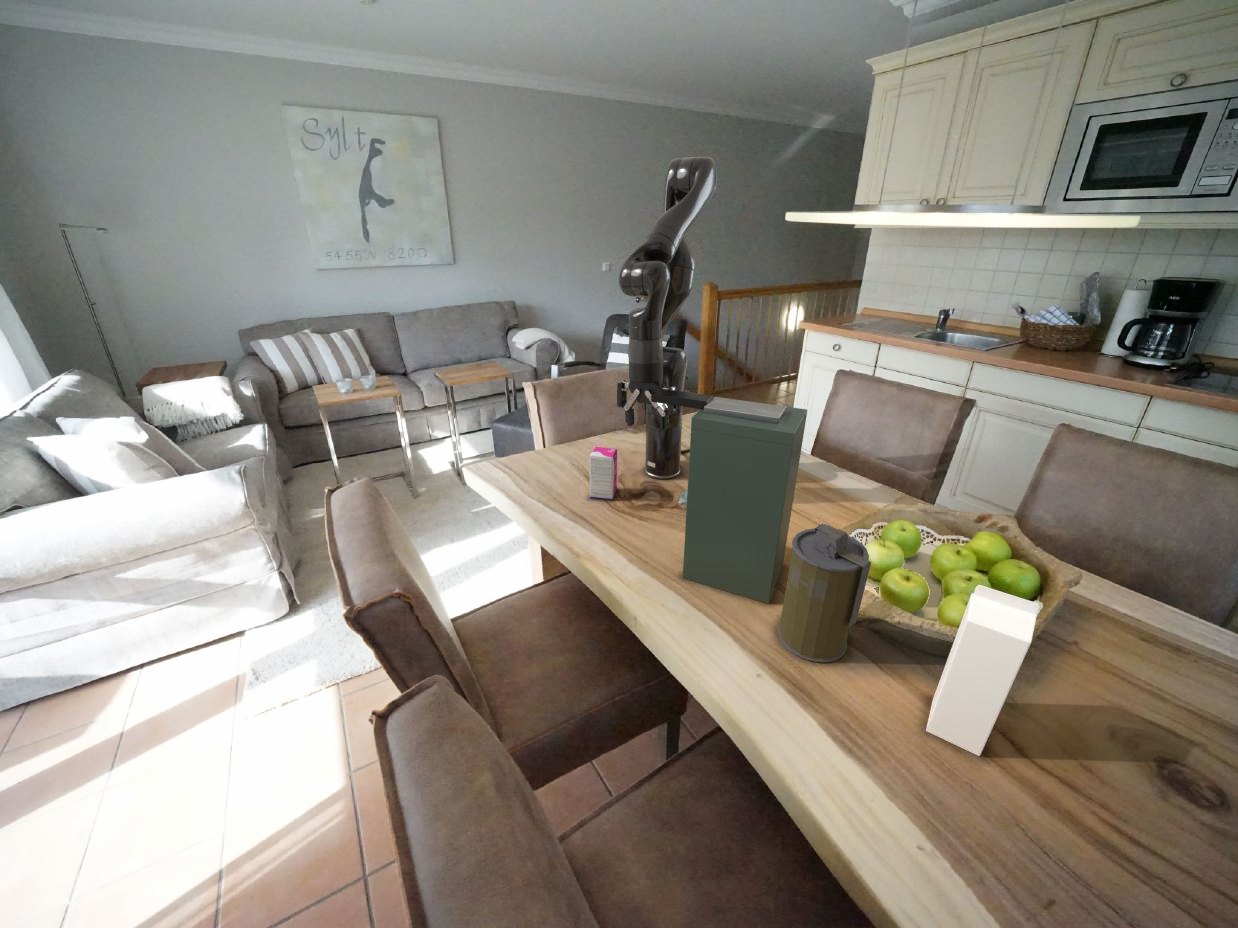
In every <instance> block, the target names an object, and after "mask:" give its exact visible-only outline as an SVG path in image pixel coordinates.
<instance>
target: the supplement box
mask: <svg viewBox="0 0 1238 928" xmlns="http://www.w3.org/2000/svg"><path fill="white" fill-rule="evenodd" d="M588 460H589V463H588V465H589V499H592V500H602V501H613V499H614V496H615V494H616V492H617V490H618V489H617V488H618V487H617V486H618V448H614V447H602V446H594V447H593V449H592V451H591V452H590V454H589V458H588Z"/></svg>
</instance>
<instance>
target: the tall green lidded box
mask: <svg viewBox="0 0 1238 928" xmlns="http://www.w3.org/2000/svg"><path fill="white" fill-rule="evenodd" d="M715 397H716V396H713V398H715ZM807 415H808V409H806V408H799V407H792V406H786V412H785V414H784V415H783V417H782V418H781V420H780V421H779V423H778V424H776V423H770V422H763V421H757V420H750V419H744V418H737V417H731V416H724V415H718V414H711V413H705V412H704V410H702V409H698V411H697V412H696V413H695V414H694V415H692V417H691V423H690V438H689V439H690V442H689V449H690V452H689V455H688V456H689V457H688V475H687V476H688V477H687V490H688V492H687V506H686V512H685V513H686V514H685V527H684V530H685V532H684V545H683V547H684V548H683V563H682V565H683V566H682V579H685V580H688V581H691V582H694V583H698V584H701V585H704V586H708V587H711V588H714V589H717V590H721V591H725V592H727V593H730V594H731V593H732V594H734V595H737V596H741V597H744V598H748V599H750V600H754V601H757V602H761V603H764V604H768V605H769V604H770V603H771V600H772V597H773V594H774V591H775V589H776V586H777V583H778V581H779V577H780V575H781V572H782V569H783V566H784V561H785V554H786V549H787V541H788V535H789V529H790V522H791V517H792V512H793V511H792V510H793V504H794V498H795V491H796V485H797V479H798V473H799V467H800V461H801V460H800V459H801V454H802V449H803V448H802V447H803V442H804V441H803V440H804V435H805V430H806V429H805V428H806V422H807V417H808V416H807Z"/></svg>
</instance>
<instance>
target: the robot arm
mask: <svg viewBox="0 0 1238 928" xmlns="http://www.w3.org/2000/svg"><path fill="white" fill-rule="evenodd" d="M717 184H718V168H717V164H716V162H715V160H714V159H713V158H712V157H710V156H690V157H689V156H688V157H687V156H686V157H677V158H673V159H671V160H670V162H669V164H668V166H667V168H666V173H665V179H664V190H663V193H664V194H663V205H662V206H663V207H662V214H661V215H660V216H659V217H658V218H657V219H656V220H655V222H653V224H652V226H651V227H650V229H649V232H648V234H647V235H646V237H645V239H644V242H643V243H641V245H639V246H638V247H637V248H636V249H635V250H634V251H633V252H632V253H631V254H630V255H629V256H628V257H627V258H626V259H625V260H624V262H623V263H622V265H621V267H620V270H619V273H618V287H619V289H620V290H621V292H622V293H623V294H624V295H626V296H629V297H640V298H641V297H642V298H643V297H644V298H645V297H646V298H647V302H646V304H645V306H644V307H643V306H642V307H639V308H634V309H632V310H630V312H629V313H628V349H627V358H628V379H629V382H628V381H627V380H626V379H623V380H621V381H619V382H617V383H616V406H617V407H618V408H622V409H623V410H624V417H625V419H624V420H625V423H626V425H627V426H628V427H632V426H633V425H634V424H635V408H634V407H635V405H636V404H637V403H638V404H645V412H646V413H645V457H644V458H645V459H644V462H645V463H644V464H645V465H644V472H645V474H646V475H647V476H649V477H651V478H654V479H658V480H669V479H673V478H676V477H678V476H679V475H680V473H681V454H686V453H690V448H688V449H682V435H683V434H682V430H683V413H684V412H683V410H684V407H682V406H676V405H669V404H662V403H656V402H651V394H652V393H653V392H655V391H656V390H658V389H659V388H660V389H667V390H674V391H682V392H686V381H687V372H688V356H687V352H686V351H685V350H684V349H683V348H680V347H672V346H663V341H664V337H665V334H666V331H667V329H668V327H669V325H670V324H671V322H672V321H673V320H674V318H675V316H677V314H678V313H679V311H680V310H681V309H682V308H683V306H684V305H685V304H686V302H687V301H688V299H689V297H690V296H691V294H692V290H693V287H694V285H693V284H694V278H695V271H696V259H695V255H694V253H693V250H692V248H691V246H690V244H689V241H688V239H687V237H686V234H687V232H688V230H689V229H690V228H691V226H692V225H693V224H694V222H695V221H696V220H697V219H698V217H699V216H700V215H701V214H702V212H703V211H704V210H705V209H706V207H707V205H708V204H709V203H710V201H711V200H712V198H713V196H714V194H715V192H716V188H717ZM628 390H629V391H630V393H631V396H630V397H629V398H628V397H627V396H628V395H627V394H628ZM627 399H628V400H627Z"/></svg>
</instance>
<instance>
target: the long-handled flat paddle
mask: <svg viewBox="0 0 1238 928" xmlns="http://www.w3.org/2000/svg"><path fill="white" fill-rule="evenodd" d="M714 397H715V398H714ZM651 402H656V403H662V404H669V405H676V406H682V407H683V408H690V409H695V410H696V409H697V410H700V409H702V410H704V412H705V413H711V414H718V415H724V416H731V417H737V418H744V419H750V420H757V421H763V422H770V423H776V424H778V423H779V421H780V420H781V418H782V417H783V415H784V414H785V412H786V407H787V406H784V405H778V404H770V403H765V402H756V401H748V400H743V399H742V400H741V399H735V398H728V397H721V396H714V395H712V394H711V395H709V394H703V393H695V392H688V391H685V392H682V391H674V390H667V389H660V388H659V389H658V390H656V391H655V392H653V393H652V394H651Z"/></svg>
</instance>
